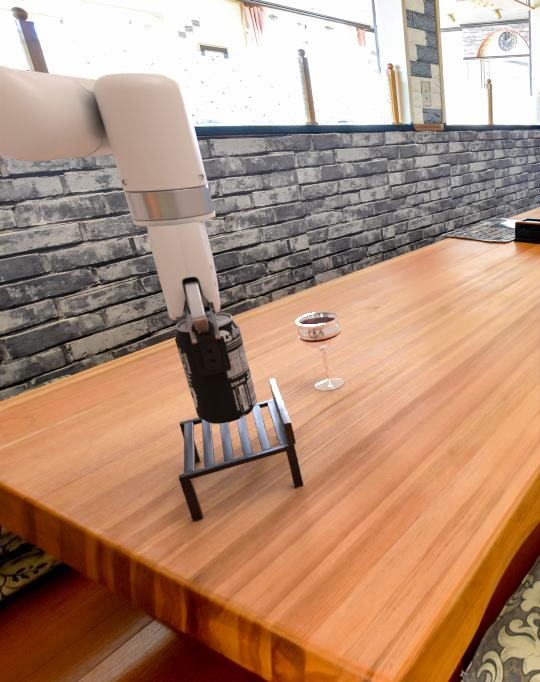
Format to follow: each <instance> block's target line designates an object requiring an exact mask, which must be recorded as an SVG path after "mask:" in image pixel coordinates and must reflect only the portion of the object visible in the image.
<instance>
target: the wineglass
mask: <svg viewBox="0 0 540 682" xmlns="http://www.w3.org/2000/svg"><path fill="white" fill-rule="evenodd" d="M338 319H339V314H338V313H336V312H333V311H318V312H312V313H307V314H304V315H302V316H300V317H298V318H297V319H296V320H295V323H296V325H298V328H297V335H298V339H299V340H300V341H301V343H302V344H304V345H306V346H307V347H309V348H311V349H314V350H318V352H321V353H320V354H321V357H322V361H323V365H324V369H325V375H326V378H324V379H321V380H319V381H317V382H316V383H314V389H315V390H318V391H322V392H327V391H328V392H329V391H333V390H337V389H339V388H341V387H342V386H344V385H345V380H344V378H341V377H330V368H329V363H328V356H327V355H328V354H327V350H328V349H329V348H330V347H332V346H333V345H334V344H336V342H337V341H338V340H339V339H340V337H341V333H342V327H341V324H340V322H339V321H338Z"/></svg>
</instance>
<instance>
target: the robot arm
mask: <svg viewBox="0 0 540 682" xmlns="http://www.w3.org/2000/svg"><path fill="white" fill-rule="evenodd" d="M194 125H195V124H194V121H193V117H192V113H191V110H190V105H189V100H188V97H187V94H186V91H185V88H184V87H183V85H182V84H181V83H180V82H179V81H178V80H177V79H176V78H174V77H171V76H168V75H165V74H164V75H163V74H157V73H143V72H141V73H140V72H137V73H136V72H125V73H124V72H123V73H122V72H121V73H111V74H105V75H102V76H99V77H98V78H97V79H93V78H85V77H77V76H70V75H62V74H57V73H49V72H41V71H34V70H26V69H17V68H10V67H7V66H4V65H1V64H0V157H3V158H7V159H11V160H14V161H15V160H16V161H22V162H31V163H32V162H50V161H57V160H69V159H75V160H76V159H85V158H88V159H89V158H97V157H104V156H110V155H112V158H113V159H114V164H115V167H116V170H117V173H118V177H119V180H120V183H121V187H122V191H123V193H124V196H125V200H126V203H127V206H128V209H129V213H130V216H131V220H132V223H133V225H134V226H137V227H146V229H147V235H148V241H149V245H150V251H151V253H152V257H153V261H154V265H155V269H156V272H157V276H158V279H159V283H160V287H161V289H162V294H163V298H164V301H165V306H166V309H167V313H168V317H169V319H171V320H173V321H178V320H179V318H180V317H183V315H184V316H185V317H184V319H186V320H187V324H188V328H189V332H190V336H191V340H192V342H190V344H191V347H192V351H193V354H194V358H195V361H196V365H197V368H198V372H199V375H200V376H208V375H212V374H217V373H221V372H226V371H229V370H231V364H230V360H229V356H228V352H227V348H226V344H225V340H224V337H223V336H220V332H219V328H218V324H217V320H216V316H215V315H216V314H215V313H219V312H220V310H221V299H220V291H219V282H218V276H217V271H216V265H215V261H214V256H213V252H212V248H211V243H210V239H209V235H208V231H207V230H208V229H207V226H206V222H205V221H208V220H210V219H213V218H216V212H215V207H214V204H213V200H212V195H211V191H210V186H209V185H208V184H209V183H208V178H207V175H206V171H205V166H204V162H203V157H202V153H201V150H200V146H199V142H198V137H197V134H196V130H195V126H194ZM207 318H210V319H211V322H210V321H207Z"/></svg>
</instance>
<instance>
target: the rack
mask: <svg viewBox="0 0 540 682" xmlns="http://www.w3.org/2000/svg"><path fill="white" fill-rule="evenodd" d="M268 383H269V387H270V391H271V396H272V398H270V399H266V400H262V401H259V402H258V401H257V403H256V405H255V406H254V408H253V410H252V411H251V413H252V416H253V420H254V424H255V428H256V432H257V436H258V441H259V444H260V448H261V450H259V451H255V452H253V448H252V443H251V438H250V434H249V429H248V423H247V419H246V416H245V417H243V418H241V419H238V420H236V423H237V429H238V433H239V434H238V435H239V439H240V446H241V452H242V455H241V456H239V457H234V449H233V442H232V441H233V440H232V435H231V429H230V422H228V423H222V424H219V429H220V430H219V431H220V439H221V449H222V457H223V461H222V462H218V463H216V460H215V449H214V439H213V438H214V437H213V426H212V423H208V422H206V421H205V420H202V419H200V418H199V417H198V416H197V417H195V418H190V419H186V420H183V421H180V422H179V427H180V432H181V434H182V437H183V473H180V474H178V480H179V484H180V487H181V489H182V493H183V496H184V499H185V502H186V505H187V508H188V510H189V514H190V517H191V521H192V522H197V521H200V520H203V519H204V514H203V510H202V507H201V504H200V501H199V497H198V495H197V491H196V489H195V485H194V482H193V479H196V478H200V477H203V476H208V475H211V474H214V473H217V472H220V471H224V470H227V469H231V468H234V467H238V466H241V465H245V464H248V463H251V462H255V461H258V460H262V459H265V458H268V457H272V456H275V455H278V454H282V453H286V458H287V462H288V465H289V470H290V475H291V478H292V483H293V486H294V489H297V488H301V487H303V486H304V481H303V477H302V473H301V468H300V464H299V460H298V456H297V455H298V454H297V451H296V446H295V445H296V444H297V441H296V438H295V434H294V429H293V424H292V420H291V418H290V416H289V413H288V410H287V407H286V404H285V402H284V399H283V396H282V393H281V391H280V388H279V385H278V383H277V380H276V378H269V379H268ZM266 407H267V409H268V411H269V415H270V418H271V422H272V425H273V428H274V432H275V435H276V438H277V442H278V445H276V446H274V447H272V445H271V443H270V439H269V436H268V432H267V429H266V425H265V421H264V417H263V413H262V410H261V409H263V408H266ZM200 424H201V433H202V450H203V451H202V452H203V465H204V466H203V467H201V468H196V464H197V463H201V457H200V453H199V450H198V447H197V443H196V440H195V426H196V425H200Z"/></svg>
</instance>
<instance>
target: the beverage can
mask: <svg viewBox="0 0 540 682" xmlns="http://www.w3.org/2000/svg"><path fill="white" fill-rule="evenodd" d="M215 314H216V315H215V316H216V320H217V324H218V328H219V332H220V336H223V337H224V340H225V344H226V348H227V352H228V356H229V360H230V364H231V370H229V371H226V372H221V373H217V374H212V375H208V376H200V375H199V372H198V368H197V365H196V361H195V358H194V354H193V351H192V347H191V344H190V342H192V340H191V336H190V332H189V328H188V324H187V320H186V318H184V319H182V320H180V321H178V322H177V323H176V324H175V329H176V330H177V331H176V334H175V337H174V341H175V345H176V347H177V351H178V354H179V358H180V361H181V365H182V368H183V371H184V375H185V378H186V381H187V385H188V388H189V392H190V395H191V398H192V402H193V405H194V409H195V412H196V415H197V418H198V417H199V418H200V419H202V420H205V421H206V422H208V423H211V425H212V424H214V425H216V424H217V425H220V424H222V423H228V422H229V423H231V422H232V423H233V422H235V421H237V420H238V419H241V418H243V417H245V418H246V416H248V415H249V414H251V413H252V410H253V408H254V406H255V405H256V403H258V399H257V394H256V389H255V386H254V382H253V378H252V374H251V370H250V366H249V362H248V358H247V354H246V349H245V345H244V340H243V337H242V333H241V329H240V326H239V325H238V324H237V323H236V322H235V321H234V320H233V319H234V318H233V315H232V314H231V313H227V312H217V313H215ZM207 321H210V322H211V319H210V318H207Z"/></svg>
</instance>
